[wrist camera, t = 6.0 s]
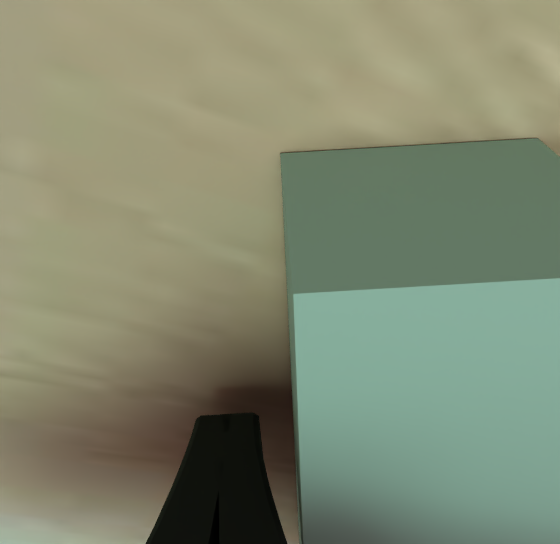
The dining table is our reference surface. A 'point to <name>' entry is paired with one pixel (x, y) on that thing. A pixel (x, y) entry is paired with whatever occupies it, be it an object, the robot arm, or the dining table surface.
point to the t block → (425, 342)
